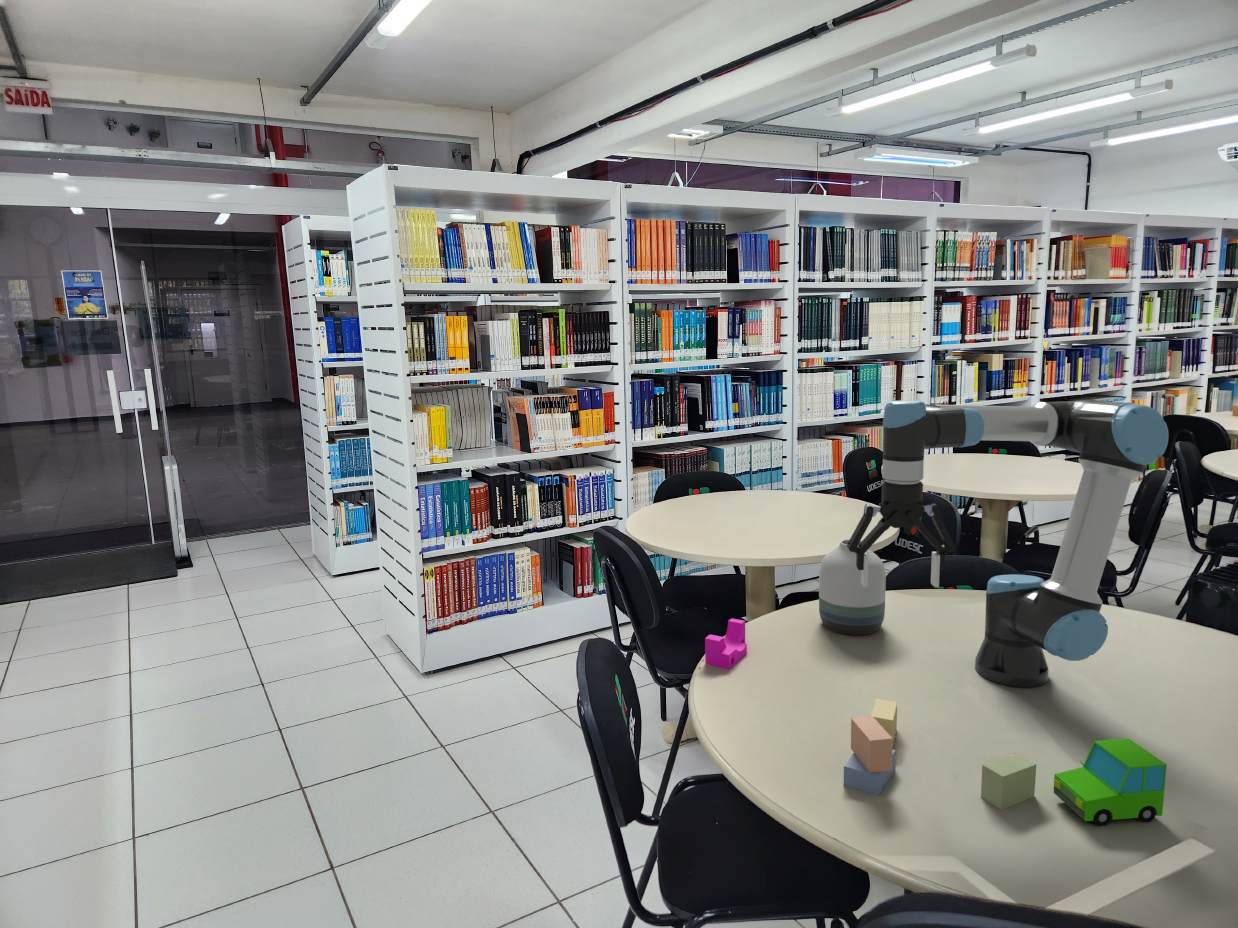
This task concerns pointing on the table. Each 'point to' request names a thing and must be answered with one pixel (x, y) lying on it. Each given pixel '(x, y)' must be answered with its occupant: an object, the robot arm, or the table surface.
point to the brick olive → (1008, 780)
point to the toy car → (1114, 783)
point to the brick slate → (865, 776)
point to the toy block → (726, 646)
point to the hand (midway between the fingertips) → (899, 585)
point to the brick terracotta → (871, 744)
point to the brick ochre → (886, 716)
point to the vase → (851, 592)
